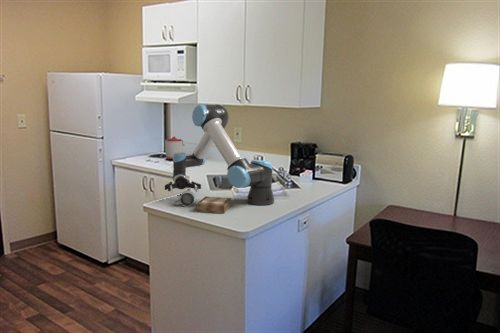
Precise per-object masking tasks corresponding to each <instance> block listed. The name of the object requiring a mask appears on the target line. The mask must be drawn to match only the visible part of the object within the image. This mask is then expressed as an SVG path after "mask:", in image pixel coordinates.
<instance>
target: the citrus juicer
mask: <svg viewBox="0 0 500 333" xmlns="http://www.w3.org/2000/svg"><path fill="white" fill-rule="evenodd" d="M164 145H165V146H164V149H165V156H166V157H165V158H166V159H167V158H168V159H167V160H169V159H173V155H174V154H175V153H184V150H183V149H184V147H185V146H186V144H184V140H183V139H181V138H177V137H175V136H172V137H171V138H169V139H168V138H166V139H164Z"/></svg>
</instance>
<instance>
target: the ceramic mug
mask: <svg viewBox="0 0 500 333" xmlns="http://www.w3.org/2000/svg"><path fill="white" fill-rule="evenodd" d="M194 203H195V194H194V193H193V191H191V190H184V191H183V192H182V193H181V194H180V196H179V199H177V200H175V201H174V202H173V204H174V206H178V205H181V206H183V207H185V208H186V207H187V208H189V207H191V206H193V205H194Z"/></svg>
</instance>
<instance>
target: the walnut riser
mask: <svg viewBox="0 0 500 333" xmlns="http://www.w3.org/2000/svg"><path fill="white" fill-rule="evenodd" d="M231 206H232V198H230V197H219V196H217V197H216V196H204V197H203V198H202V199H201V200H200V201H198V202H197V203H196V212H200V213H212V214H226V213H227V211H228V210H229V208H231Z"/></svg>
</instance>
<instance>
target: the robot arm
mask: <svg viewBox="0 0 500 333" xmlns="http://www.w3.org/2000/svg"><path fill="white" fill-rule="evenodd" d="M191 118H192V122H193V124H194V126H196V127H201V129H202V131H203V132H204V134H203V135H202V137H201V138H200V140H199V142H198V144H197V145H196V147H195V148H194V150H193V152H192V153H191V154H190V155H189V154H186V153H184V152H183V153H175V154H174V155H173V160H172V166H173V167H172V169H173V170H172V171H173V173H172V180H173V182H172V181H169V182H168V183H166V184H165V185H164V190H165V191H166V190H167V192H170V193H171V194H173V190H174V189H178V190H184V189H189V188H190V189H193V190H194V192H195V193H198V191H199V190H202V189H201V188H202V184H201V183H198V182H195V181H193V180H191V182H190V181H188V179H187V177H186V175H187V174H186V172H187V170H186V169H187V168H194V167H201V166H203V165H205V164H206V156H207V155H208V152H209V150H210V149H211V148H212V146H213V144H214V145H215V147H216V149H217V150H218V152H219V154H220V155H221V157H222V158H223V160H224V161H225V163H226V165H227V169H226V170H227V180H228V182H229V184H230V185H231V186H233V187H234V188H235V189H244V188H245V189H246V188H247V187H249V191H248V194H247V197H246V202H247V203H248V204H249V205H254V206H270V205H273V204H274V203H275V197H274V192H273V190H272V189H273V186H272V183H273V164H272V162H271V161H268V160H260V159H252V160H251V161H250V162H249V161H248V159H247V158H246V157H243V156H242V155H241V154H240V152H239V150H238V149H237V148H236V146H235V144H234V143H233V141H232V139H231V138H230V136H229V135H228V133H227V131H226V130H225V128H226V126H227V125H228V123H229V118H230V117H229V112H228V109H226V107H225V106H223V105H221V104H198V105H196V106H195V107H194V108H193V110H192V117H191Z"/></svg>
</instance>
